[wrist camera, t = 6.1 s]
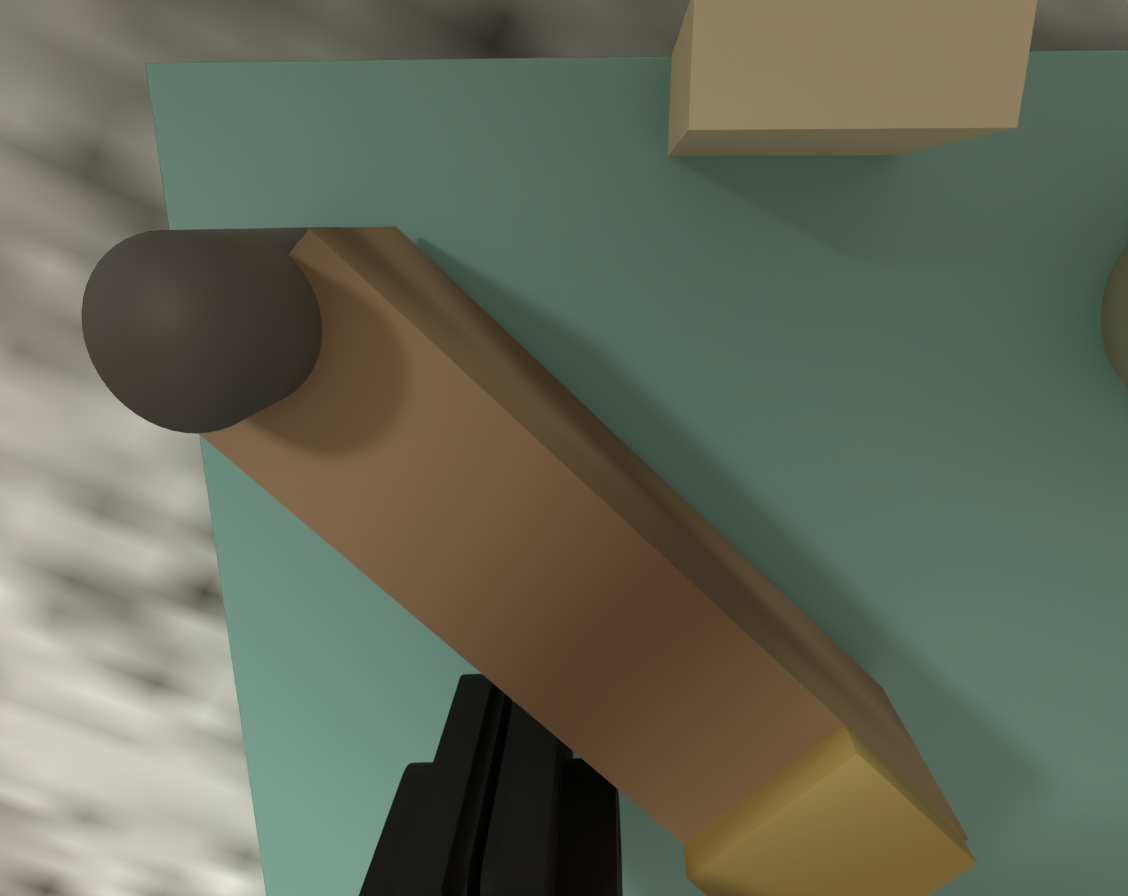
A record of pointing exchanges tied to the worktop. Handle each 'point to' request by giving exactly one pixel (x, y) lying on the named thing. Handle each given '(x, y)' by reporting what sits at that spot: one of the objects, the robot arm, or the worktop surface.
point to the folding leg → (528, 546)
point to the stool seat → (737, 382)
